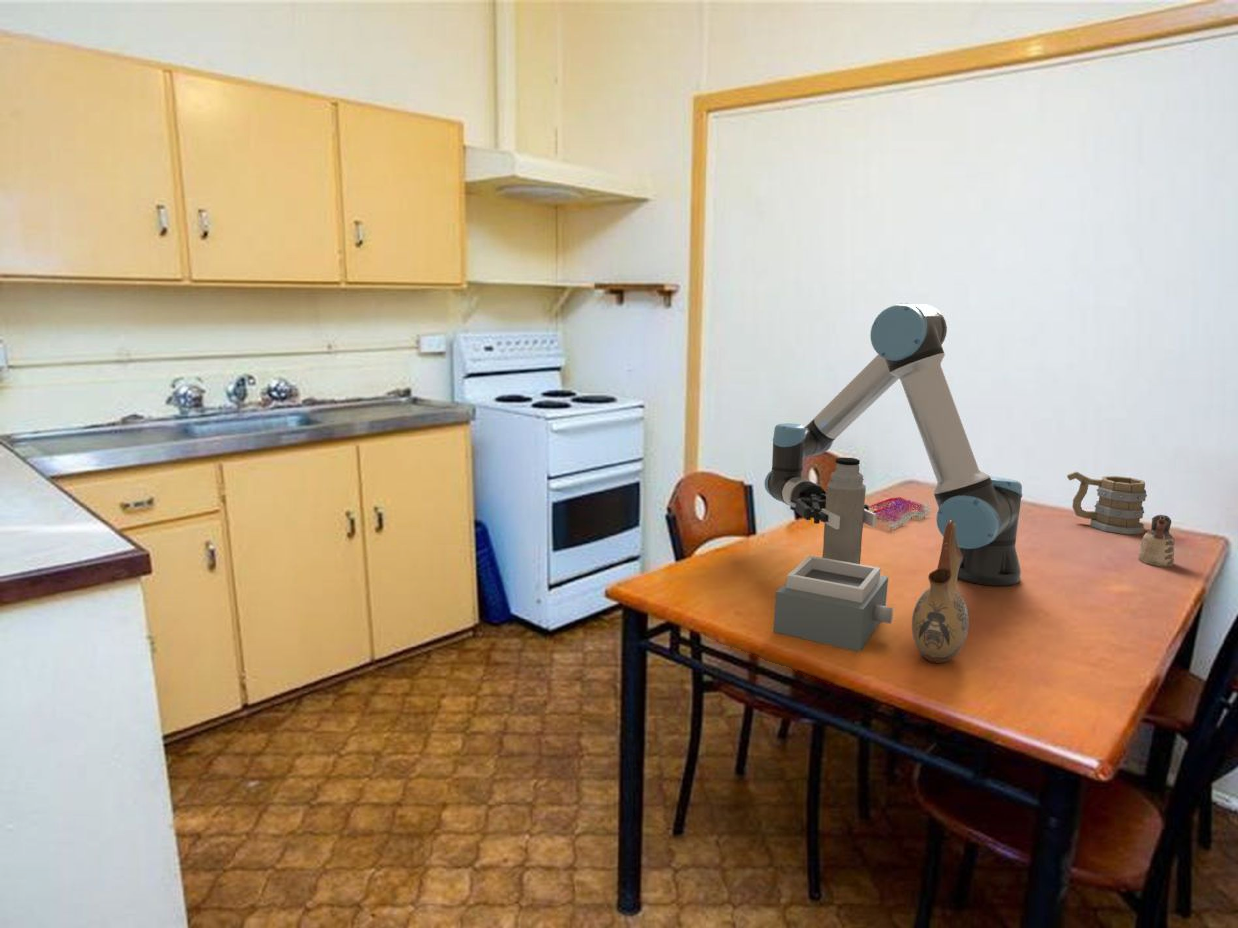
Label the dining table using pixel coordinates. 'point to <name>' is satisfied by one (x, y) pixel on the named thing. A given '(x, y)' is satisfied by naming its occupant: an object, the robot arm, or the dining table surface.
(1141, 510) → the tankard
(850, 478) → the thermos bottle
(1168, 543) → the figurine
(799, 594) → the box
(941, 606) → the ceramic vessel
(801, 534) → the dining table surface
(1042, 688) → the dining table surface
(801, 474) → the robot arm
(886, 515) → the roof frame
